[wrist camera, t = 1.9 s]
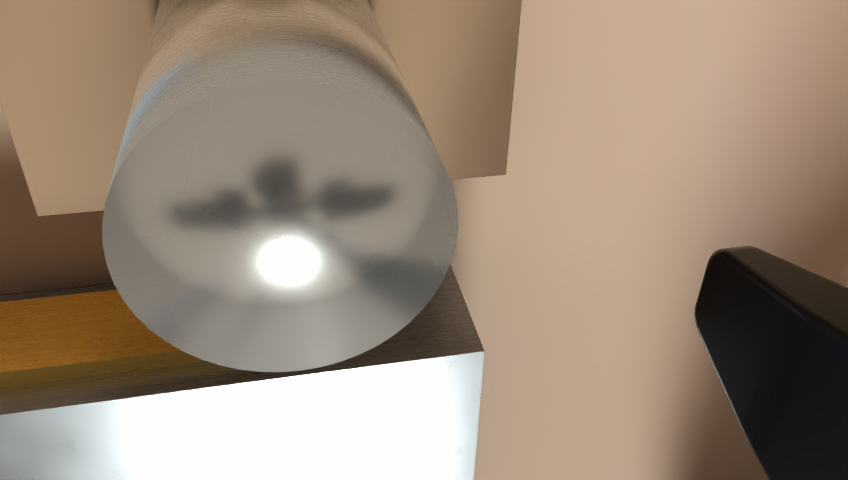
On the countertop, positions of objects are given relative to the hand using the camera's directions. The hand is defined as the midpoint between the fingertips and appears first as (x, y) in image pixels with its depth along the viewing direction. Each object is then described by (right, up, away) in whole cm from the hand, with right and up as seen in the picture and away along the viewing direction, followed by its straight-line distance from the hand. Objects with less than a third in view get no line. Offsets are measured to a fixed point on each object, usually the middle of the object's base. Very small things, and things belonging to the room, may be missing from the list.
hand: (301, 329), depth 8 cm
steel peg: (-2, +5, +7) cm, 8 cm away
